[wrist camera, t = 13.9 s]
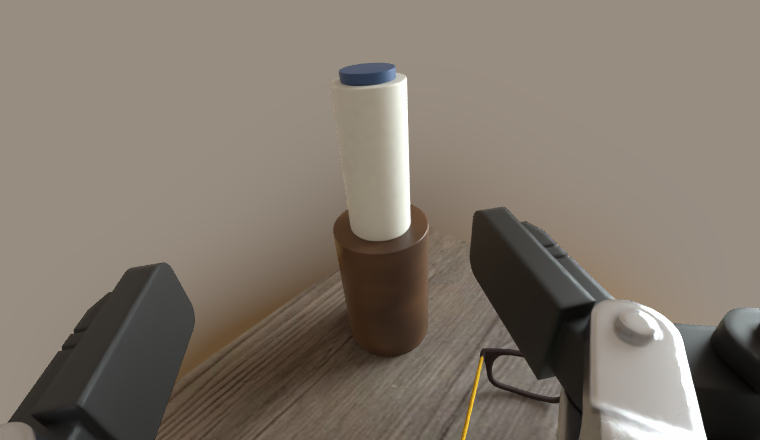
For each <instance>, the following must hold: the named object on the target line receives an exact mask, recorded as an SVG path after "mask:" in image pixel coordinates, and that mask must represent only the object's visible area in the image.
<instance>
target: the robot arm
mask: <svg viewBox="0 0 760 440" xmlns="http://www.w3.org/2000/svg"><path fill="white" fill-rule="evenodd" d="M470 263H471V268H472V271H473V274H474V276H475V278H476V279H477V281H478V283H479V284H480V286H481V288H482V289H483V291H484V292H485V294H486V296H487V297H488V299H489V301H490V302H491V304H492V306H493V307H494V309H495V310H496V312H497V314H498V315H499V317H500V319H501V320H502V322H503V324H504V325H505V327H506V328H507V330H508V332H509V333H510V335H511V337H512V338H513V340H514V342H515V343H516V345H517V346H518V348H519V350H520V351H521V353H522V355H523V356H524V358H525V360H526V361H527V363H528V365H529V366H530V368H531V369H532V371H533V373H534V374H535V376H536V378H537V379H538V380H541V379H545V378H550V377H554V376H556V377H557V379H558V380H559V382H560V383H561V385H562V386H563V387H562V389H561V393H560V404H559V417H558V430H557V440H760V309H756V308H737V309H733V310H731V311H729V312H728V313H727V314H726V315H725V316H724V318H723V319H722V321H721V322H720V324H719V325H718V326H717V327H716V326H702V325H689V324H676V323H671V322H670V321H669V320H667V319H666V318H665V317H664V316H662V315H661V314H659V313H658V312H656V311H655V310H653V309H651V308H649V307H647V306H644V305H642V304H639V303H636V302H633V301H628V300H622V299H614V298H613V297H612V296H611V295H610V294H609V293H608V292H607V291H606V290H604V288H602V287H601V286H600V285H599V284H598V283H597V282H596V281H595V280H594V279H593V278H592V277H591V276H590V275H589V274H588V273H587V272H586V271H585V270H584V269H583V268H582V267H581V266H580V265H579V264H578V263H577V262H576V261H575V260H574V259H572V258H571V257H568V254H567V253H566V252H565V251H564V250H563V249H562V248H561V247H560V246H557V243H556V242H555V241H554V240H553V239H552V238H551V237H550V236H549V235H548V234H547V233H546V232H545V231H543V230H541V229H539V228H538V227H536V226H534V225H532V224H530V223H528V222H526V221H525V222H519V221H518V220H517V219H516V218H515V216H514V215H513V214H512V213H511V212H510V211H509V210H508V209H507V208H505V207H498V208H493V209H486V210H480V211H476V212H475V213H474V216H473V225H472V236H471V247H470ZM194 323H195V317H194V310H193V307H192V304H191V302H190V300H189V298H188V297H187V295H186V293H185V291H184V290H183V288H182V286H181V284H180V282H179V280H178V279H177V277H176V275H175V273H174V271H173V269H172V268H171V267H170V265H168V264H167V263H157V264H151V265H145V266H139V267H133V268H130V269H128V270H127V271H126V272H125V274H124V275H123V276H122V278H121V279H120V281H119V282H118V284H117V286H116V287H115V289H114V290H113V291H112V292H109V293H108V294H106V295H105V296H104V297H103V298H102V299H100V300H99V301H98V302H97V303H96V304H95V305H94V306H92V307H91V308H90V309H89V310H88V311H87V312H86V313H85V315H84V317H83V318H82V319H81V320H80V322H79V323H78V325H77V326H76V327H75V329H74V334H70V336H69V337H68V339H67V340H66V341H65V343H64V344H63V346H62V351H59V352H58V353H57V354H56V355H55V357H54V358H53V360H52V361H51V363H50V364H49V365H48V367H47V368H46V370H45V371H44V372H43V374H42V375H41V377H40V378H39V379H38V381H37V382H36V384H35V385H34V386H33V388H32V389H31V391H30V392H29V393H28V395H27V396H26V398H25V399H24V400H23V402H22V403H21V405H20V406H19V407H18V409H17V410H16V412H15V413H14V414H13V416H12V417H11V419H10V420H9V421H8V423H6V424H1V425H0V440H155V438H156V435H157V432H158V429H159V426H160V424H161V421H162V418H163V415H164V412H165V409H166V406H167V403H168V401H169V398H170V395H171V392H172V389H173V386H174V383H175V380H176V378H177V375H178V372H179V369H180V366H181V363H182V360H183V357H184V355H185V352H186V349H187V346H188V343H189V340H190V337H191V334H192V332H193V328H194Z"/></svg>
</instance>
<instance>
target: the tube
mask: <svg viewBox="0 0 760 440" xmlns="http://www.w3.org/2000/svg"><path fill="white" fill-rule="evenodd" d="M339 77H340V78H337V79H335V80H333V81H332V82H331V83H330V90H331V96H332V103H333V110H334V117H335V124H336V131H337V137H338V144H339V151H340V158H341V165H342V172H343V178H344V185H345V192H346V199H347V206H348V213H349V219H350V226H351V230H352V231H353V233H354V234H355V235H356V236H358V237H360V238H362V239H364V240H368V241H387V240H391V239H394V238H397V237H399V236H401V235H402V234H404V233H405V232H406V231H407V230H408V228H409V226H410V223H411V221H410V188H409V187H410V185H409V151H408V150H409V149H408V148H409V147H408V110H407V78H406V76H405V75H403V74H400V73H396V67H395V65H393V64H388V63H366V64H358V65H352V66H348V67H345V68H342V69H340V70H339Z"/></svg>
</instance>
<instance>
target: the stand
mask: <svg viewBox="0 0 760 440" xmlns="http://www.w3.org/2000/svg"><path fill="white" fill-rule="evenodd" d="M410 221H411V223H410V226H409V228H408V230H407V231H406V232H405V233H404V234H402V235H401V236H399V237H397V238H394V239H391V240H387V241H368V240H364V239H362V238H360V237H358V236H356V235H355V234H354V233H353V231H352V230H351V226H350V219H349V213H348V210H346V211H345V212H343V213H342V214H341V215H340V216H339V217H338V218H337V220H336V222H335V223H334V227H333V234H334V239H335V244H336V250H337V256H338V261H339V267H340V272H341V277H342V283H343V288H344V294H345V299H346V305H347V310H348V316H349V321H350V327H351V332H352V335H353V338H354V339H355V341H356V342H357V344H358V345H359V346H360V347H361V348H363V349H364V350H366V351H367V352H369V353H372V354H374V355H378V356H397V355H402V354H404V353H407V352H409V351H411V350H412V349H414V348H415V347H416V346H418V345H419V344H420V342H421V341H422V340H423V338H424V337H425V334H426V332H427V327H428V243H429V223H428V219H427V217H426V215H425V214H424V213H423V211H421V210H420V209H419V208H417V207H415V206H414V205H411V204H410Z"/></svg>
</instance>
